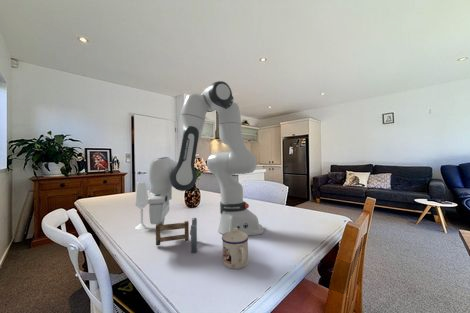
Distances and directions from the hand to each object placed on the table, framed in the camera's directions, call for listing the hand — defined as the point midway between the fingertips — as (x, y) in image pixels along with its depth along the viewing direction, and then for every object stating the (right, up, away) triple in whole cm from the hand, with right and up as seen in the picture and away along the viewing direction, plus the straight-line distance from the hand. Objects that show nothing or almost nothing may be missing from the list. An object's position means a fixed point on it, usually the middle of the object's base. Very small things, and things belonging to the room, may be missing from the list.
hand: (161, 228), depth 83 cm
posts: (+15, -6, -3) cm, 16 cm away
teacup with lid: (+32, -6, -17) cm, 37 cm away
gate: (+5, -6, -1) cm, 8 cm away
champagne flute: (-19, -8, +22) cm, 30 cm away
